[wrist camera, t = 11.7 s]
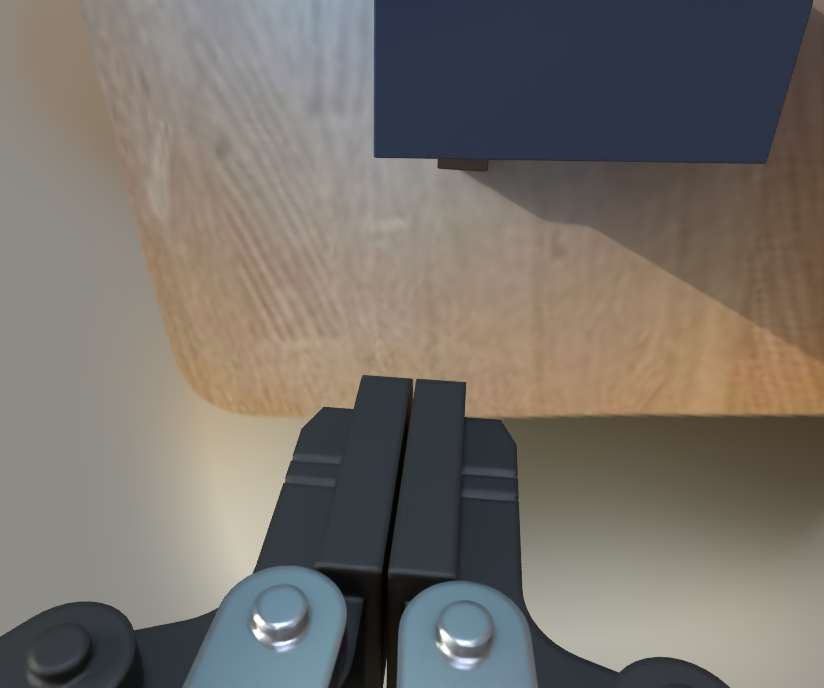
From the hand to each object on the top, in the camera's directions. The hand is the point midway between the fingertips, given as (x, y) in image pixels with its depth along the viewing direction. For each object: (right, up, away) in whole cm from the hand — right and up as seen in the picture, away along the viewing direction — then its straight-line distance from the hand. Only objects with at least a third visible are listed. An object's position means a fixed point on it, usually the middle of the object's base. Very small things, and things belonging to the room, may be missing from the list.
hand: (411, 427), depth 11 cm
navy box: (-1, +11, +14) cm, 18 cm away
